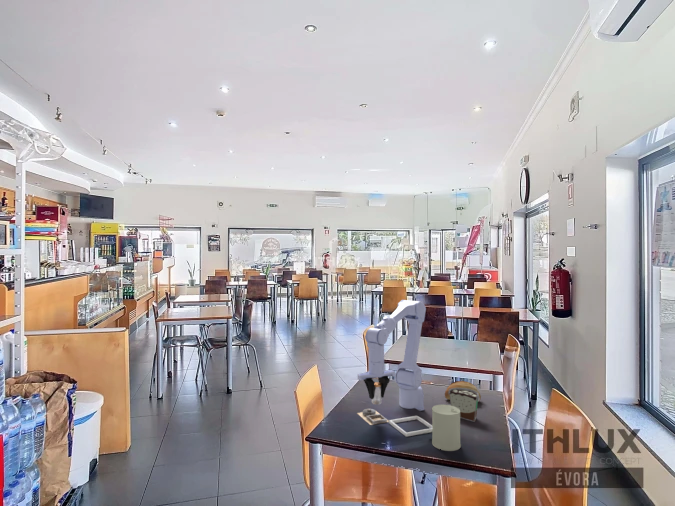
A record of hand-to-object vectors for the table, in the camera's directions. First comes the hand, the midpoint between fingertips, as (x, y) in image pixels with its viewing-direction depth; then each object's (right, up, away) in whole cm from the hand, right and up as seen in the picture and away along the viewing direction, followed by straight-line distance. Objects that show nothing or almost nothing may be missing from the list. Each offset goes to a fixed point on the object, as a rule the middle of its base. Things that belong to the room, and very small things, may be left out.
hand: (376, 397), depth 150 cm
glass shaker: (0, -2, 0) cm, 2 cm away
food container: (+36, -10, +7) cm, 38 cm away
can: (+21, -10, -16) cm, 29 cm away
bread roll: (+39, -11, +25) cm, 48 cm away
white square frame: (+12, -10, -6) cm, 17 cm away
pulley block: (-1, -10, +3) cm, 10 cm away
